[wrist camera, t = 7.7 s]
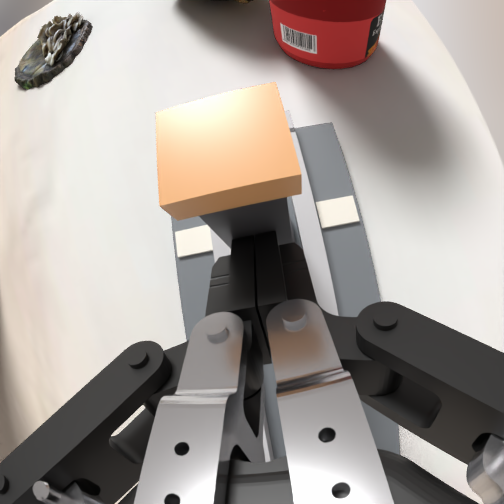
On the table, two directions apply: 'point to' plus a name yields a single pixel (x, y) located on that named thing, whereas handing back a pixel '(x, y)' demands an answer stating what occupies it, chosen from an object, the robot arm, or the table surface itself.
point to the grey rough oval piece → (52, 50)
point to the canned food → (328, 30)
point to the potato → (243, 1)
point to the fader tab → (229, 163)
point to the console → (317, 257)
